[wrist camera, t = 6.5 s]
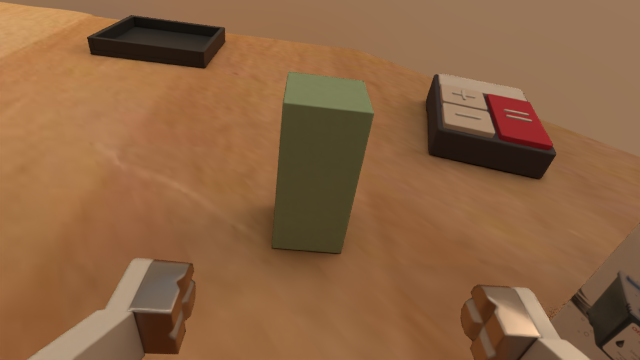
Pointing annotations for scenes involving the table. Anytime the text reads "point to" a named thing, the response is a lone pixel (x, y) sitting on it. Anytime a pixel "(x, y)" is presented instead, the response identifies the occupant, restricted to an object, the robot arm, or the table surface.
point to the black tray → (159, 41)
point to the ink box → (607, 307)
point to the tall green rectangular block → (319, 160)
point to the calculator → (486, 126)
